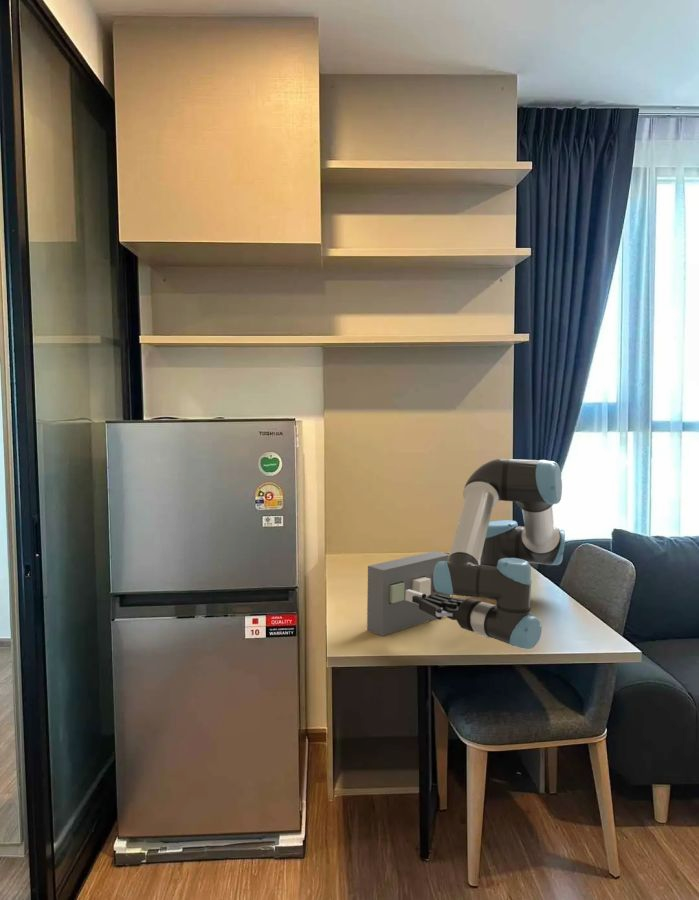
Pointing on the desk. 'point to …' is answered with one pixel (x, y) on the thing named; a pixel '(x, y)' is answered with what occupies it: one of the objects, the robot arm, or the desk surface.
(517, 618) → the robot arm
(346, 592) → the desk surface
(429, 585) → the cream button
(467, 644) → the desk surface
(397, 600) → the sage green button
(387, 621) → the button panel
